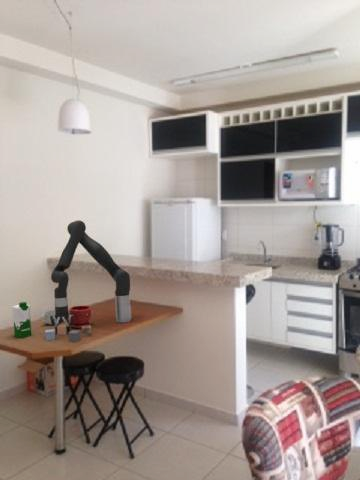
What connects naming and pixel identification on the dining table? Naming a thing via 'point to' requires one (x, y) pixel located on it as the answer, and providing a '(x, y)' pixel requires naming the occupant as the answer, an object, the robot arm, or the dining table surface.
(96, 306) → the dining table surface
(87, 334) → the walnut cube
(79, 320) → the plant pot
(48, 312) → the teacup
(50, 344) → the dining table surface
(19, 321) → the milk carton
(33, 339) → the dining table surface
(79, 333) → the charcoal cube
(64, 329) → the terracotta cube
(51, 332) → the slate blue cube
